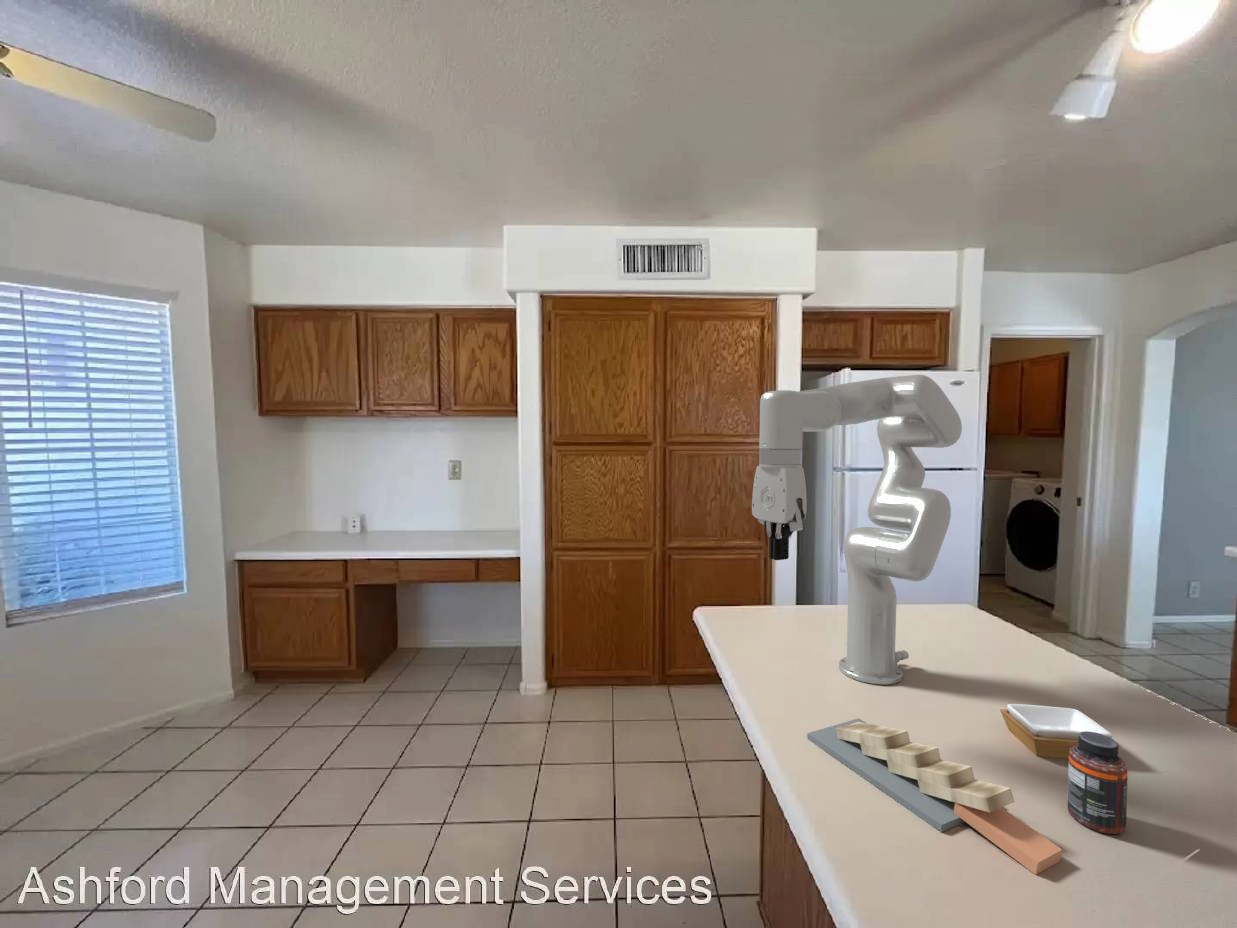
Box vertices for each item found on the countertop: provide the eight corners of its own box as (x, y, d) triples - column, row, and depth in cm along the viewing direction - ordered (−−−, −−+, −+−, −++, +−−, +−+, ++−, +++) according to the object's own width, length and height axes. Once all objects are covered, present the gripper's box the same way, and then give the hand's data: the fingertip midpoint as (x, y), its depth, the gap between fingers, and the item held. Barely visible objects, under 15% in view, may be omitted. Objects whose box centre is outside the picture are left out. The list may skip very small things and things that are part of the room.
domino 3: (909, 752, 84) (971, 766, 75) (912, 763, 84) (974, 779, 75) (886, 760, 82) (947, 775, 73) (889, 771, 82) (950, 788, 73)
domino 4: (941, 770, 79) (1010, 787, 71) (944, 783, 79) (1014, 801, 70) (917, 779, 77) (986, 798, 69) (920, 792, 77) (989, 812, 68)
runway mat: (858, 723, 97) (858, 718, 97) (998, 806, 75) (999, 799, 75) (807, 738, 92) (807, 733, 92) (941, 832, 71) (941, 824, 71)
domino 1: (857, 721, 93) (907, 730, 84) (859, 731, 93) (910, 741, 84) (835, 728, 91) (884, 737, 82) (837, 738, 91) (887, 749, 82)
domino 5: (978, 791, 75) (1062, 849, 66) (977, 802, 75) (1060, 861, 66) (955, 801, 72) (1037, 862, 64) (953, 812, 73) (1035, 874, 64)
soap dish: (1033, 761, 86) (1034, 730, 86) (998, 728, 96) (999, 700, 96) (1119, 767, 85) (1121, 736, 85) (1075, 733, 95) (1076, 705, 94)
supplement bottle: (1111, 811, 75) (1115, 731, 74) (1136, 841, 69) (1140, 755, 68) (1058, 801, 77) (1062, 723, 76) (1078, 830, 71) (1082, 746, 70)
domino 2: (882, 736, 89) (937, 747, 80) (885, 746, 88) (940, 759, 79) (860, 743, 87) (914, 755, 78) (862, 754, 86) (917, 767, 77)
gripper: (738, 458, 104) (737, 552, 105) (793, 461, 90) (791, 570, 91) (769, 457, 107) (768, 549, 108) (827, 460, 93) (825, 565, 94)
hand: (778, 558), depth 100 cm, fingers closed
